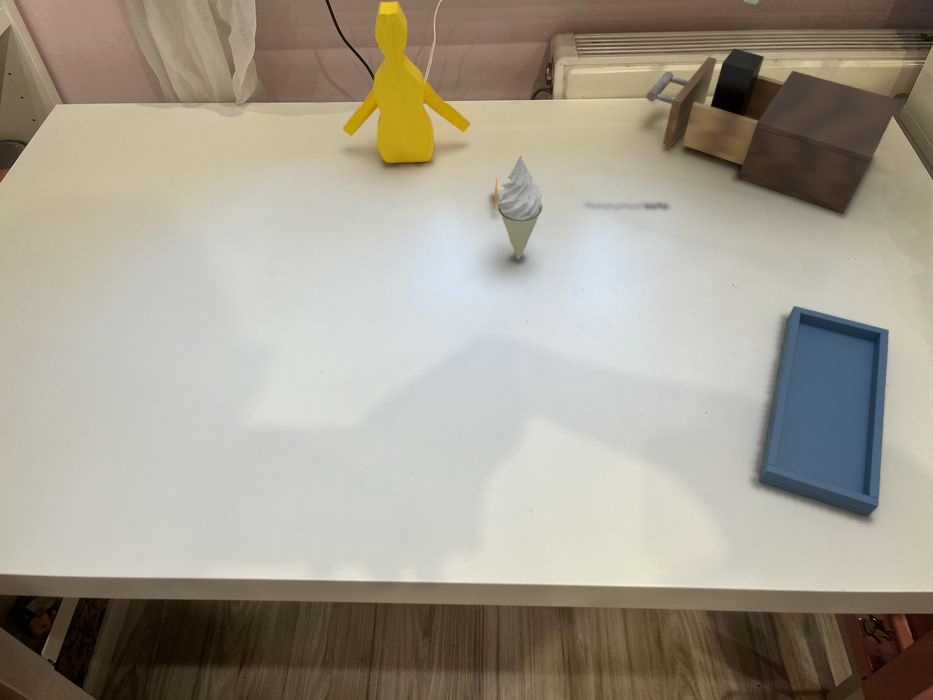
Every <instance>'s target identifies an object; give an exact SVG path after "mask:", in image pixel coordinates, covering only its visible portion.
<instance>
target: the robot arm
mask: <svg viewBox="0 0 933 700" xmlns="http://www.w3.org/2000/svg"><path fill="white" fill-rule="evenodd" d="M742 1H743V2H745V3H747V4H751V5H757V4H759V2H760V0H742Z"/></svg>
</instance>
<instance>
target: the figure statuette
mask: <svg viewBox="0 0 933 700" xmlns="http://www.w3.org/2000/svg"><path fill="white" fill-rule="evenodd" d="M374 37H375V41H376V43H377V46H378V47H379V50H380V51H381V53H382V54H383V56H384V59H383V61H382V62H381V64H380V66H379V67H378V69H376V72H375V74H374V76H373V86H372V89H371V90H370V92H369V93H368V95H367V96H366V98H365V99H364V100H363V102H362V104H361V105H360V106H359V107H358V108H357V109H356V110H355V111H354V112H353V114H352V115H351V117H350V118H349V119H348V120H347V122H345V125H344V126H343V127H342V130H343V132H345V133H346V134H347V135H348V136H350V137H353V135H355V133H356V132H357V131H358V130H359V129H360V128H361V126H363V124H364V123H366V121H367V120H368V119H369V117H370V116H372V114H373V113H374V112H375V111H376V110H377V109H378V111H379V113H380V114H379V116H378V121H377V130H376V143H377V144H376V145H377V148H378V152H379V154H380V157H381V159H382V160H383V161H384V162H385V163H387V164H400V163H423V162H429V161H431V160H432V158H433V154H434V147H435V146H434V142H435V132H434V126H433V123H432V120H431V117H430V115H429V113H428V111H427V110H426V108H425V106H424V105H425V104H426V105H427V107H429V108H430V109H431V110H432V111H434V112H435V113H437V114H438V115H439V116H440V117H442V118H443V119H444V120H446V121H447V122H448V123H450V124H451V125H453V126H454V127H455V128H456V129H458V130H459V131H460V132H462V133H465V132H466V131H467V129H468V128H470V126H471V122H470V120H467V118H466V117H464V116H463V115H462V114H461V113H460V112H459V111H458V110H457V109H456V108H454V107H453V106H452V105H451V104H449V103H448V102H446V101H444V100H443V98H441V96H439V95H438V94H437V93H436V91H435V90H434V89H433V87H432V86H431V84H429V82H428V81H426V80H425V77H424V75H423V73H422V71H421V70H420V69H419V67H417V66H416V65H415V64H414V63H413V61H411V60H410V58H409V57H408V56H407V55H406V53H405V49H406V46H407V42H408V41H407V40H408V20H407V18H406V15H405V13H404V11H403V9H402V6H401V5H400V3H399V1H397V0H396V1H380V2H379V5H378V9H377V14H376V20H375V29H374Z"/></svg>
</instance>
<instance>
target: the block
mask: <svg viewBox="0 0 933 700" xmlns="http://www.w3.org/2000/svg"><path fill="white" fill-rule="evenodd" d="M764 59H765V56H764V55H760V54H756V53H753V52H749V51H746V50H742V49H737V48H733V49H732V50H731V51H730V53H729V54H728V56H726V58H724V60H723V62H722V64H721V67H720V71H719V74H718V78H717V82H716V85H715V89H714V93H713V96H712V100H711V104H710V105H711V107H715V108H718V109H721V110H724V111H728V112H731V113H734V114H738V115H741V116H744V117H745V114H746V111H747V108H748V105H749V102H750V99H751V96H752V93H753V90H754V86H755V83H756V80H757V77H758V75H760V71H761V69H762V64H763V62H764Z"/></svg>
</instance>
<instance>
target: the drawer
mask: <svg viewBox="0 0 933 700" xmlns="http://www.w3.org/2000/svg"><path fill="white" fill-rule="evenodd" d="M717 60H718V59H717V58H714V57H711V56H708V57H707V58H706V59H705V60H704V62H703V63H702V64H701V65H700V67H699V68H698V69H696V71H695V72H694V74H693V75H692V76H691V77H690V79H689V80H686V79H684V78H679V77H676V76H674V74H673V73H672V72H671V71H666V72H664V74H663V75H662V76H661V77H660V78H659V79H658V80H657V81H656V83H655V84H654V85H653V86H652V87H651V88H650V90H649V91H648V92H647V94H646V99H647V100H648V101H649V102H654V101H656V100H657V101H660V102H662V103H666V104H670V105H671V107H670V110H669V115H668V119H667V123H666V128H665V132H664V136H663V142H662V144H663V145H665V146H668V147H672V146H673V145H674V143H675V142H676V140H678V138H679V137H680V135H681V134H682V133H683V132H684V130H685V133H684V137H683V141H682V146H684V147H686V148H690V149H693V150H696V151H699V152H702V153H705V154H708V155H711V156H714V157H717V158H720V159H723V160H726V161H729V162H733V163H735V164H738V165H741V166H743V163H744V160H745V157H746V154H747V151H748V148H749V145H750V142H751V139H752V137H753V134H754V131H755V128H756V125H757V122H758V121H759V119H760V118H761V116H762V115H763V113H764V112H765V110H766V109H767V107H768V106H769V105H770V103H771V102H772V100H773V99H774V97H775V96H776V94H777V93H778V91H779V90H780V88H781V87H782V85H783V84H784V82H785V81H782V80H778V79H776V78H775V79H774V78H771V77H767V76H764V75H760V74H758V77H757V80H756V83H755V86H754V90H753V93H752V96H751V99H750V102H749V105H748V108H747V111H746V114H745V117H744V116H741V115H738V114H734V113H731V112H728V111H724V110H721V109H718V108H715V107H711V104H710V105H708V104H705V103H706V100H707V96H708V93H709V89H710V86H711V81H712V78H713V74H714V71H715V67H716V63H717ZM670 83H671V84H672V83H673V84H676V85H680V86H683V87H682V88H681V89H680V91H679V92H678V93H677V94H676V96H674V97H671V96H669V95H668V96H667V95H665V94H661V93H663V91H664V90H665V89H666V88H667V87H668V85H670Z"/></svg>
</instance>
